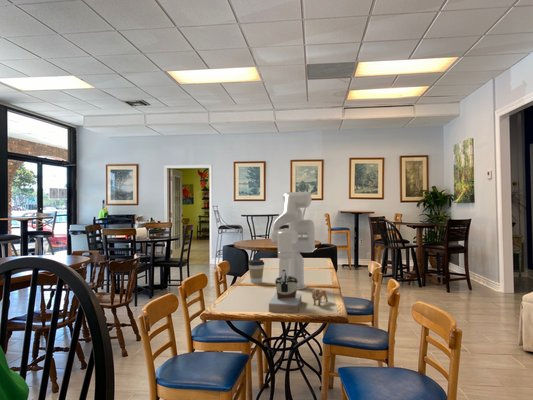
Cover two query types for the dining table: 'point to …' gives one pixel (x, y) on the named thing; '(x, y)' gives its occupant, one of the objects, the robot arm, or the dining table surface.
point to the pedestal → (285, 304)
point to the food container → (291, 288)
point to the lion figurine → (318, 296)
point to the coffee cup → (256, 270)
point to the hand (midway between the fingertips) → (285, 289)
